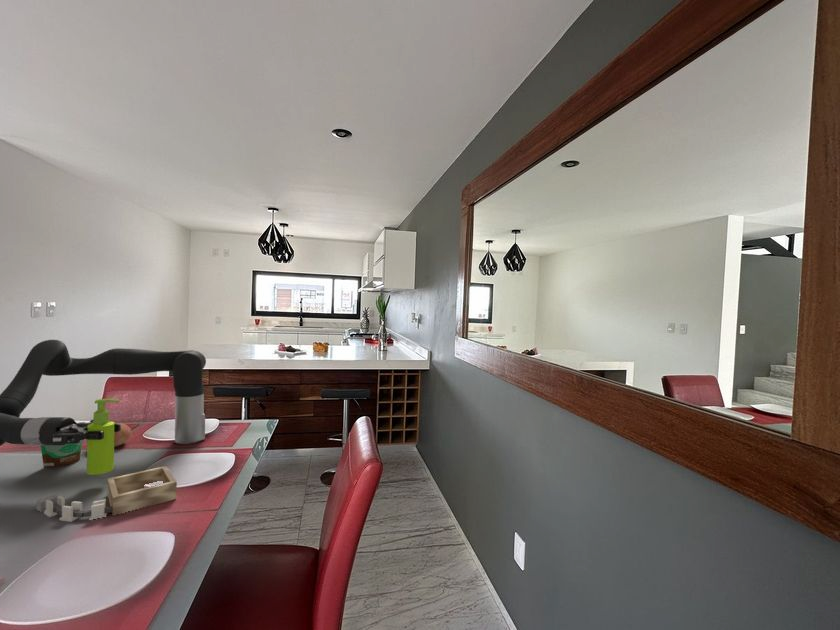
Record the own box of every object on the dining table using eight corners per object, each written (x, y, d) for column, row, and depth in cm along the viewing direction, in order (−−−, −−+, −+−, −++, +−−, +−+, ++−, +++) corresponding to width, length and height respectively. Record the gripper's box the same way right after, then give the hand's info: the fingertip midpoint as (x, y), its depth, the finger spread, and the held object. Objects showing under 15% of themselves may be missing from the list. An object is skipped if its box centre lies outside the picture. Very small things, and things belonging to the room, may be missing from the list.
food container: (54, 472, 119) (54, 439, 119) (38, 470, 121) (37, 437, 120) (95, 456, 132) (95, 426, 131) (80, 455, 133) (80, 425, 132)
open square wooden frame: (166, 481, 116) (166, 465, 115) (176, 498, 106) (176, 481, 106) (107, 495, 107) (107, 478, 106) (112, 516, 97) (112, 497, 97)
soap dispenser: (116, 471, 111) (117, 400, 111) (84, 476, 108) (85, 402, 108) (119, 464, 116) (120, 396, 116) (89, 468, 113) (90, 398, 113)
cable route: (51, 502, 102) (51, 490, 102) (115, 512, 98) (115, 499, 98) (24, 514, 96) (24, 501, 96) (91, 525, 92) (91, 511, 92)
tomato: (128, 438, 149) (128, 417, 149) (133, 446, 142) (133, 424, 141) (90, 445, 142) (90, 423, 141) (94, 454, 134) (94, 430, 134)
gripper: (70, 435, 118) (129, 436, 119) (25, 454, 104) (91, 454, 105) (70, 410, 118) (129, 411, 119) (24, 425, 104) (91, 426, 105)
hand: (111, 431), depth 112 cm, fingers closed on soap dispenser, 6 cm apart
